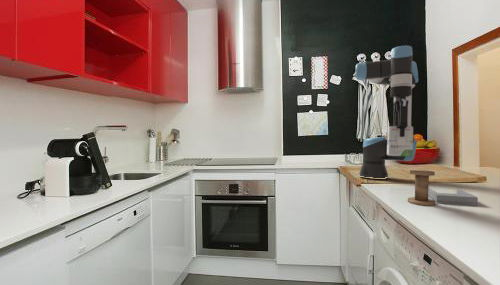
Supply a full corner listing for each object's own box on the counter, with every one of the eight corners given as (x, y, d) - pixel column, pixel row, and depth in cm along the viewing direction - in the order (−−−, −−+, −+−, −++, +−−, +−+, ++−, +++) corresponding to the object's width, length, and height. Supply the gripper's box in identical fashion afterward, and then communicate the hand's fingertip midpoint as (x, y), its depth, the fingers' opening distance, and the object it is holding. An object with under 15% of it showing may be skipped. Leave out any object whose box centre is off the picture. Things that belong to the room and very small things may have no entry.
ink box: (388, 155, 110) (389, 126, 109) (386, 154, 115) (387, 126, 114) (412, 156, 107) (413, 126, 107) (409, 155, 112) (410, 126, 112)
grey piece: (425, 194, 119) (425, 187, 118) (460, 196, 115) (461, 189, 115) (436, 202, 105) (437, 195, 105) (477, 205, 101) (478, 197, 101)
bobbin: (405, 198, 111) (405, 169, 111) (430, 200, 109) (431, 170, 108) (411, 204, 103) (412, 172, 102) (439, 206, 100) (440, 173, 100)
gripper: (386, 90, 120) (384, 144, 121) (395, 82, 102) (394, 145, 103) (405, 89, 118) (404, 144, 119) (418, 82, 100) (416, 146, 101)
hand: (399, 144), depth 111 cm, fingers closed on ink box, 5 cm apart
